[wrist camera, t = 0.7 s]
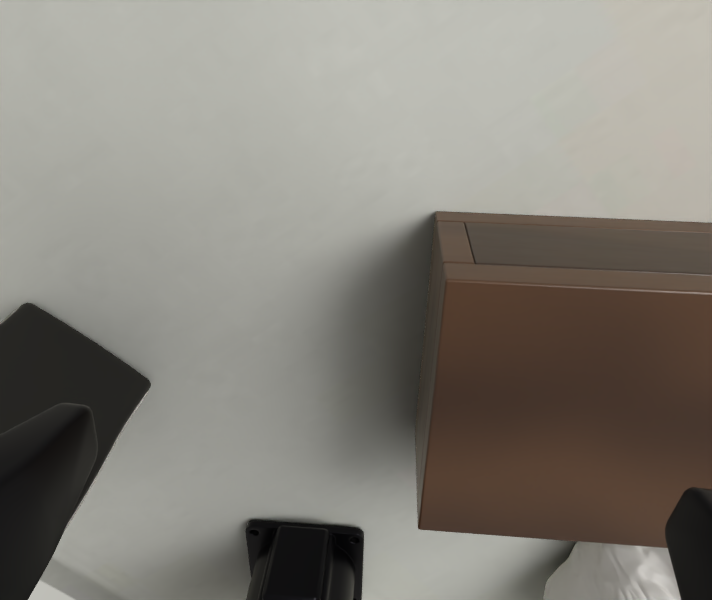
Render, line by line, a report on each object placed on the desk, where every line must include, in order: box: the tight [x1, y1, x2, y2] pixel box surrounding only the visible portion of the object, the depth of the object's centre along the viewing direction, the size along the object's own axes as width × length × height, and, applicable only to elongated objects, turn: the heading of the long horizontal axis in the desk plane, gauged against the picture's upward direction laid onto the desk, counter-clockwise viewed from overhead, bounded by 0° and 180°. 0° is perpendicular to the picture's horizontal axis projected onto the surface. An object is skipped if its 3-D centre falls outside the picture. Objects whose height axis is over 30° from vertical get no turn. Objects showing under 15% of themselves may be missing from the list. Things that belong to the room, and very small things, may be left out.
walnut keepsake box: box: [415, 211, 712, 548], centre depth 21 cm, size 11×15×6 cm
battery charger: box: [0, 303, 151, 533], centre depth 21 cm, size 7×4×11 cm, turn 49°
